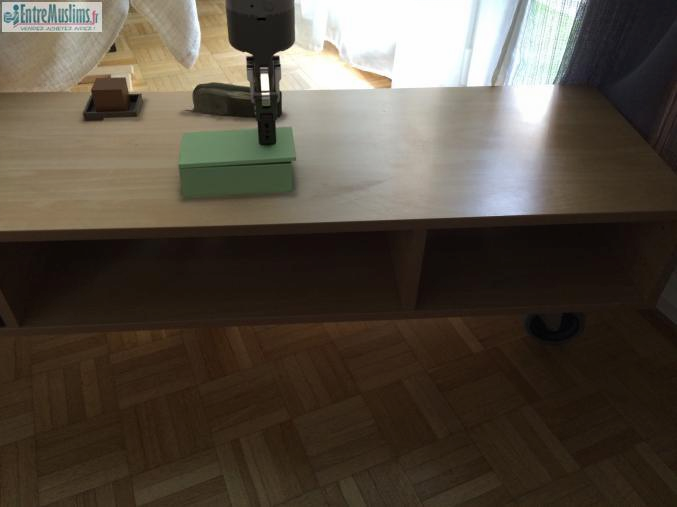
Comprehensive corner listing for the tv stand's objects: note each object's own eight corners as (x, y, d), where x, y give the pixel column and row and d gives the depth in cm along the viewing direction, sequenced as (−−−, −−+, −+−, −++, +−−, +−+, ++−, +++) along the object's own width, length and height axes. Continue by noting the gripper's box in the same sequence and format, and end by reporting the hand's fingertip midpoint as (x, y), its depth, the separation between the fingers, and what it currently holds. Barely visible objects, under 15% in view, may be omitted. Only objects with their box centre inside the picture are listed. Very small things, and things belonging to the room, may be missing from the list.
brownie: (97, 117, 93) (90, 90, 90) (102, 104, 96) (96, 77, 93) (127, 116, 93) (121, 89, 91) (131, 103, 97) (125, 77, 94)
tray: (85, 123, 92) (82, 113, 91) (92, 104, 97) (90, 95, 96) (138, 121, 93) (136, 111, 92) (143, 102, 98) (141, 93, 97)
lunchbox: (288, 164, 84) (287, 133, 81) (292, 196, 78) (291, 164, 75) (188, 168, 83) (183, 137, 80) (184, 202, 77) (178, 168, 74)
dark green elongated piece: (282, 86, 93) (185, 78, 93) (279, 94, 91) (179, 86, 91) (282, 116, 96) (188, 108, 96) (280, 125, 94) (183, 117, 94)
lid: (292, 130, 81) (291, 126, 81) (296, 161, 75) (296, 156, 75) (183, 136, 80) (182, 132, 79) (178, 168, 74) (178, 164, 73)
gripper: (225, -17, 71) (237, 119, 82) (224, 21, 61) (237, 171, 72) (290, -17, 72) (293, 117, 83) (299, 20, 62) (301, 168, 73)
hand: (267, 142), depth 77 cm, fingers closed
